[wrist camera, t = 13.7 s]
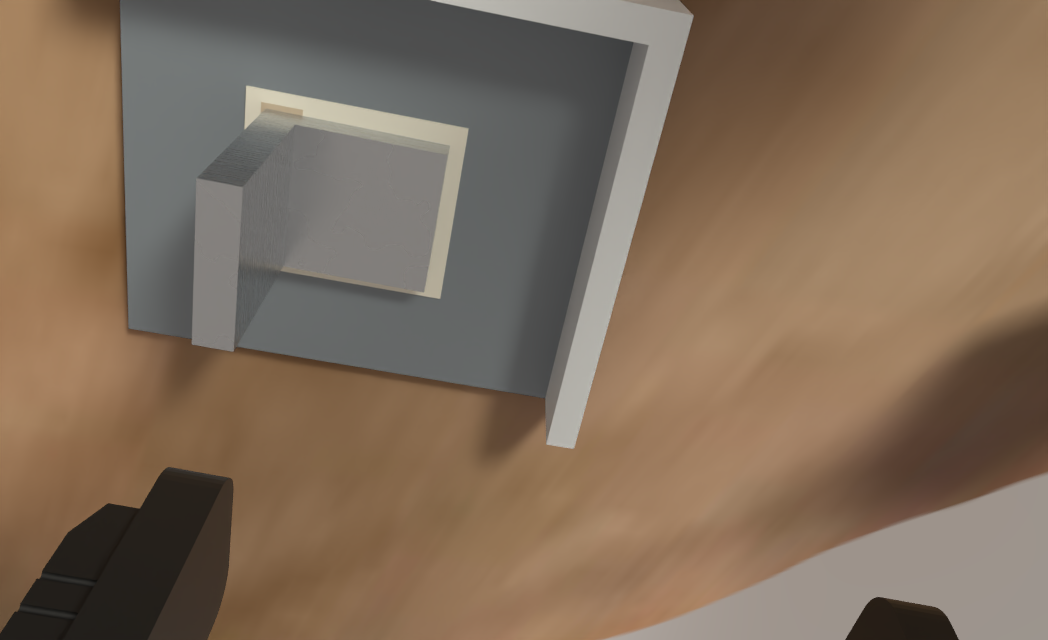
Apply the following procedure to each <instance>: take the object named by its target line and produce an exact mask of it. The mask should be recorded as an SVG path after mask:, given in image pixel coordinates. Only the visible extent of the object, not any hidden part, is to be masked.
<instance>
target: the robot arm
mask: <svg viewBox="0 0 1048 640" xmlns="http://www.w3.org/2000/svg"><path fill="white" fill-rule="evenodd" d="M232 503H233V481H232V479H231V478H227V477H221V476H216V475H210V474H205V473H199V472H193V471H188V470H182V469H177V468H171V467H168V468H166V469H165V470H164V471H163V472H162V473H161V474H160V476H159V477H158V479H157V481H156V482H155V484H154V486H153V488H152V489H151V491H150V493H149V494H148V496H147V498H146V499H145V501H144V503H143V505H142V506H141V508H140V509H138V508H132V507H126V506H121V505H115V504H109V503H108V504H107V505H105V506H104V507H103V508H101V509H100V510H98V511H97V512H96V513H94V514H93V515H92V516H90V517H89V518H87V519H86V520H85V521H83V522H82V523H81V524H79V525H78V526H76V527H75V528H74V529H72V530H71V531H70V532H68V533H67V535H66V536H65V538H64V539H63V541H62V542H61V544H60V545H59V547H58V548H57V550H56V551H55V553H54V554H53V556H52V557H51V559H50V560H49V562H48V563H47V565H46V566H45V568H44V569H43V571H42V575H41V577H40V579H37V580H36V581H35V583H34V584H33V585H32V587H31V588H30V590H29V591H28V593H27V594H26V596H25V597H24V599H23V600H22V602H21V605H20V609H19V611H18V612H14V614H13V615H12V617H11V618H10V620H9V621H8V623H7V624H6V626H5V627H4V629H3V630H2V632H1V633H0V640H207V639H208V636H209V634H210V632H211V629H212V627H213V624H214V622H215V619H216V617H217V614H218V611H219V608H220V605H221V601H222V598H223V594H224V590H225V586H226V581H227V575H228V568H229V553H230V536H231V520H232ZM846 640H959V639H958V637H957V635H956V633H955V631H954V629H953V627H952V625H951V623H950V621H949V619H948V618H947V616H946V615H945V614H944V613H943V612H942V611H941V610H940V609H938V608H936V607H932V606H926V605H921V604H915V603H909V602H904V601H898V600H893V599H887V598H881V597H877V598H874V599H872V600H871V601H870V602H869V603H868V604H867V605H866V606H865V608H864V610H863V611H862V613H861V615H860V616H859V618H858V619H857V621H856V623H855V624H854V626H853V628H852V630H851V631H850V633H849V634H848V636H847V638H846Z"/></svg>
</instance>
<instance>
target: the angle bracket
mask: <svg viewBox="0 0 1048 640" xmlns="http://www.w3.org/2000/svg"><path fill="white" fill-rule="evenodd" d="M449 149H450V146H449V145H444V144H440V143H435V142H430V141H425V140H420V139H415V138H410V137H405V136H400V135H395V134H390V133H385V132H380V131H375V130H370V129H365V128H360V127H356V126H351V125H346V124H341V123H336V122H331V121H326V120H321V119H316V118H311V117H306V116H301V115H296V114H291V113H286V112H281V111H276V110H272V109H267V108H266V109H265V110H264V111H263V112H262V113H261V114H260V115H259V116H258V117H257V118H256V119H255V120H254V121H253V122H252V123H251V124H250V125H249V126H248V127H247V128H246V129H245V130H244V131H243V132H242V133H241V134H240V135H239V136H238V137H237V138H236V139H235V140H234V141H233V142H232V143H231V144H230V145H229V146H228V147H227V148H226V149H225V150H224V151H223V152H222V153H221V154H220V155H219V156H218V157H217V158H216V159H215V160H214V161H213V162H212V163H211V164H210V165H209V166H208V167H207V168H206V169H205V170H204V171H203V172H202V173H201V174H200V175H199V176H198V177H197V178H196V210H195V246H194V282H193V317H192V345H198V346H204V347H209V348H215V349H221V350H226V351H232V352H234V350H235V349H236V347H237V345H238V343H239V342H240V340H241V338H242V337H243V335H244V333H245V331H246V330H247V328H248V326H249V325H250V323H251V321H252V319H253V318H254V316H255V314H256V312H257V311H258V309H259V307H260V306H261V304H262V302H263V300H264V299H265V297H266V295H267V294H268V292H269V290H270V288H271V287H272V285H273V283H274V282H275V280H276V278H277V276H278V275H279V273H280V271H281V269H282V268H283V266H284V267H289V268H295V269H300V270H305V271H311V272H316V273H322V274H327V275H332V276H338V277H343V278H349V279H354V280H359V281H365V282H370V283H375V284H381V285H386V286H392V287H397V288H402V289H408V290H413V291H419V292H424V291H425V287H426V282H427V277H428V271H429V266H430V260H431V254H432V248H433V242H434V237H435V231H436V225H437V219H438V213H439V207H440V202H441V196H442V190H443V184H444V178H445V172H446V167H447V161H448V155H449Z"/></svg>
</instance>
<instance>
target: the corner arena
mask: <svg viewBox="0 0 1048 640" xmlns="http://www.w3.org/2000/svg"><path fill="white" fill-rule="evenodd" d="M693 17H694V15H693V14H692V13H691V12H690V11H689V10H688V9H687V8H686V7H685V6H684V5H683V4H682V3H681V2H680V1H679V0H120V25H121V62H122V99H123V137H124V174H125V211H126V248H127V286H128V323H129V329H135V330H141V331H147V332H153V333H159V334H165V335H171V336H177V337H183V338H189V339H192V317H193V282H194V246H195V210H196V178H197V177H198V176H199V175H200V174H201V173H202V172H203V171H204V170H205V169H206V168H207V167H208V166H209V165H210V164H211V163H212V162H213V161H214V160H215V159H216V158H217V157H218V156H219V155H220V154H221V153H222V152H223V151H224V150H225V149H226V148H227V147H228V146H229V145H230V144H231V143H232V142H233V141H234V140H235V139H236V138H237V137H238V136H239V135H240V134H241V133H242V132H243V131H244V130H245V129H246V128H247V127H248V126H249V125H250V124H251V123H252V122H253V121H254V120H255V119H256V118H257V117H258V116H259V115H260V114H261V113H262V112H263V111H264V110H265V109H266V108H267V109H272V110H276V111H281V112H286V113H291V114H296V115H301V116H306V117H311V118H316V119H321V120H326V121H331V122H336V123H341V124H346V125H351V126H356V127H360V128H365V129H370V130H375V131H380V132H385V133H390V134H395V135H400V136H405V137H410V138H415V139H420V140H425V141H430V142H435V143H440V144H444V145H449V146H450V149H449V155H448V161H447V167H446V172H445V178H444V184H443V190H442V196H441V202H440V207H439V213H438V219H437V225H436V231H435V237H434V242H433V248H432V254H431V260H430V266H429V271H428V277H427V282H426V287H425V291H424V292H419V291H413V290H408V289H402V288H397V287H392V286H386V285H381V284H375V283H370V282H365V281H359V280H354V279H349V278H343V277H338V276H332V275H327V274H322V273H316V272H311V271H305V270H300V269H295V268H289V267H284V266H283V268H282V269H281V271H280V273H279V275H278V276H277V278H276V280H275V282H274V283H273V285H272V287H271V288H270V290H269V292H268V294H267V295H266V297H265V299H264V300H263V302H262V304H261V306H260V307H259V309H258V311H257V312H256V314H255V316H254V318H253V319H252V321H251V323H250V325H249V326H248V328H247V330H246V331H245V333H244V335H243V337H242V338H241V340H240V342H239V343H238V345H237V347H242V348H248V349H254V350H260V351H266V352H272V353H278V354H284V355H290V356H296V357H302V358H308V359H314V360H320V361H326V362H331V363H337V364H343V365H349V366H355V367H361V368H367V369H373V370H379V371H385V372H391V373H397V374H403V375H409V376H415V377H421V378H427V379H433V380H439V381H445V382H451V383H457V384H463V385H469V386H474V387H480V388H486V389H492V390H498V391H504V392H510V393H516V394H522V395H528V396H534V397H540V398H545V410H546V444H547V445H553V446H559V447H566V448H572V449H574V447H575V443H576V439H577V436H578V432H579V429H580V425H581V421H582V418H583V414H584V411H585V407H586V403H587V400H588V396H589V392H590V389H591V385H592V382H593V378H594V374H595V371H596V367H597V364H598V360H599V356H600V353H601V349H602V345H603V342H604V338H605V335H606V331H607V327H608V324H609V320H610V317H611V313H612V309H613V306H614V302H615V298H616V295H617V291H618V288H619V284H620V280H621V277H622V273H623V270H624V266H625V262H626V259H627V255H628V251H629V248H630V244H631V241H632V237H633V233H634V230H635V226H636V223H637V219H638V215H639V212H640V208H641V205H642V201H643V197H644V194H645V190H646V186H647V183H648V179H649V176H650V172H651V168H652V165H653V161H654V158H655V154H656V150H657V147H658V143H659V139H660V136H661V132H662V129H663V125H664V121H665V118H666V114H667V111H668V107H669V103H670V100H671V96H672V92H673V89H674V85H675V82H676V78H677V74H678V71H679V67H680V64H681V60H682V56H683V53H684V49H685V45H686V42H687V38H688V35H689V31H690V27H691V24H692V20H693Z"/></svg>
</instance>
